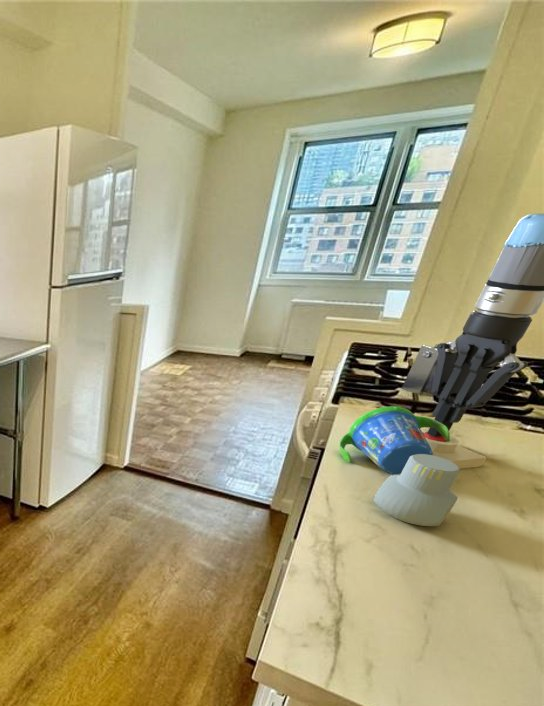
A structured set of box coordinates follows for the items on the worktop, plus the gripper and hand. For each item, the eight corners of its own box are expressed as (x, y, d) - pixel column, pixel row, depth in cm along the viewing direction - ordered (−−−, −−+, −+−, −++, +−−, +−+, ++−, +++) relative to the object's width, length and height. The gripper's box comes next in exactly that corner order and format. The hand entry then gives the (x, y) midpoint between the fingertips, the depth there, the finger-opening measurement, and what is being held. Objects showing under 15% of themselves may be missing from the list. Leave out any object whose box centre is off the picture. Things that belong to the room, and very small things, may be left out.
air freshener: (428, 540, 74) (461, 485, 69) (363, 514, 80) (389, 462, 75) (448, 514, 79) (480, 462, 74) (386, 492, 85) (412, 442, 80)
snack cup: (347, 455, 89) (326, 423, 97) (360, 493, 94) (339, 459, 101) (460, 423, 81) (428, 391, 89) (468, 466, 85) (437, 433, 93)
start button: (449, 446, 94) (454, 439, 93) (434, 448, 94) (438, 440, 93) (430, 438, 97) (434, 430, 96) (415, 440, 97) (419, 432, 96)
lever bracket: (456, 403, 118) (483, 353, 112) (424, 406, 117) (450, 355, 111) (407, 386, 129) (430, 339, 123) (378, 388, 128) (399, 341, 121)
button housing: (480, 467, 92) (492, 449, 90) (436, 472, 91) (446, 453, 89) (417, 439, 103) (426, 422, 101) (376, 443, 101) (385, 425, 99)
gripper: (444, 305, 88) (388, 421, 100) (530, 323, 77) (456, 451, 88) (478, 304, 89) (419, 419, 101) (568, 320, 78) (490, 448, 89)
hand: (436, 434), depth 95 cm, fingers closed
